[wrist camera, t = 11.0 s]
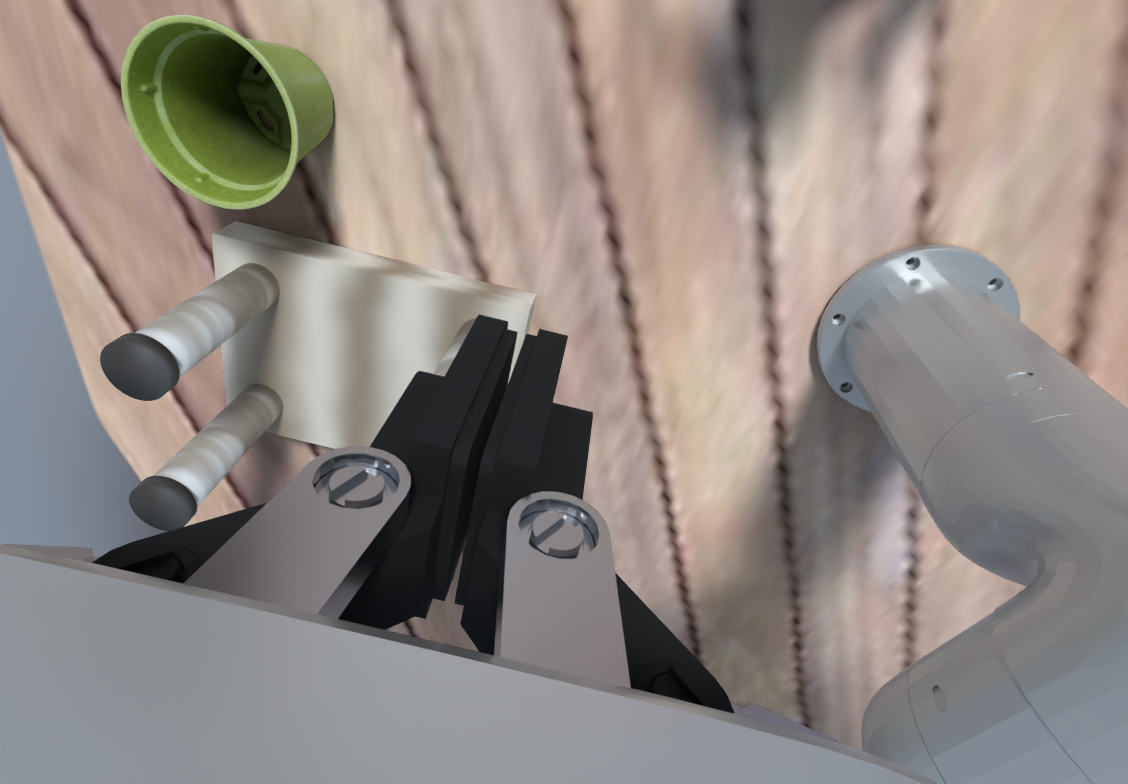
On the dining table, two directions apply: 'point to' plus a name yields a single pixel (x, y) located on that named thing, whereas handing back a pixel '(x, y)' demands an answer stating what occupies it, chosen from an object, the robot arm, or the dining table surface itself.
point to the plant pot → (222, 109)
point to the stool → (297, 350)
